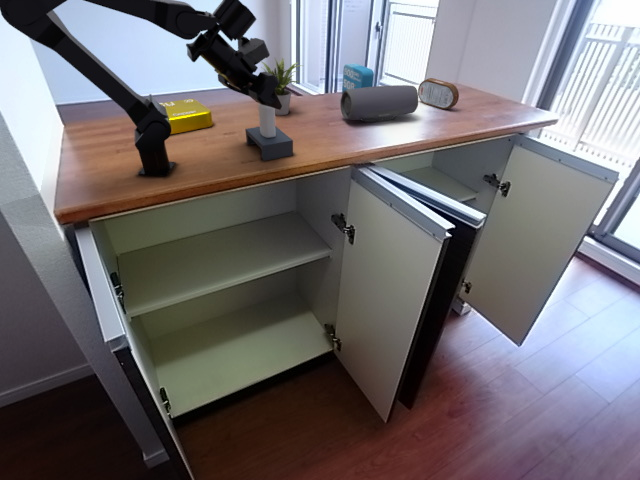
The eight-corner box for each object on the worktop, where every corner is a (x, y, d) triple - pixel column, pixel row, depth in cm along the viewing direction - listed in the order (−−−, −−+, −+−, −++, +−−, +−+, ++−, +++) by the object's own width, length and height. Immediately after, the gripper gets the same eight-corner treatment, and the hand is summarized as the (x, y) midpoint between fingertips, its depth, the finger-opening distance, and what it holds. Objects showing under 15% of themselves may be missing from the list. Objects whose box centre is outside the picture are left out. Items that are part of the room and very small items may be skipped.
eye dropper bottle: (277, 130, 97) (276, 82, 89) (275, 139, 92) (273, 88, 85) (261, 129, 97) (258, 81, 90) (257, 138, 92) (253, 87, 85)
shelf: (263, 161, 91) (262, 145, 89) (246, 143, 99) (245, 128, 97) (293, 155, 94) (293, 140, 92) (274, 138, 103) (273, 124, 100)
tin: (455, 110, 127) (462, 85, 122) (450, 112, 126) (457, 86, 121) (419, 99, 136) (424, 75, 131) (414, 101, 134) (419, 76, 129)
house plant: (311, 118, 116) (312, 62, 106) (268, 123, 112) (265, 64, 102) (296, 104, 127) (296, 52, 117) (256, 108, 122) (253, 53, 112)
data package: (341, 99, 133) (343, 63, 126) (351, 98, 135) (354, 62, 128) (359, 109, 125) (363, 71, 118) (370, 108, 127) (374, 70, 119)
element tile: (163, 136, 101) (159, 119, 98) (147, 120, 111) (143, 103, 108) (215, 126, 108) (213, 109, 106) (196, 111, 118) (193, 96, 115)
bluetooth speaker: (401, 111, 125) (406, 80, 119) (416, 121, 118) (422, 88, 112) (338, 117, 118) (340, 84, 112) (350, 127, 111) (353, 93, 105)
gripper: (269, 31, 72) (312, 83, 84) (223, 19, 83) (267, 66, 96) (237, 80, 73) (284, 124, 85) (196, 61, 84) (243, 103, 96)
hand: (270, 102), depth 90 cm, fingers open, 9 cm apart
